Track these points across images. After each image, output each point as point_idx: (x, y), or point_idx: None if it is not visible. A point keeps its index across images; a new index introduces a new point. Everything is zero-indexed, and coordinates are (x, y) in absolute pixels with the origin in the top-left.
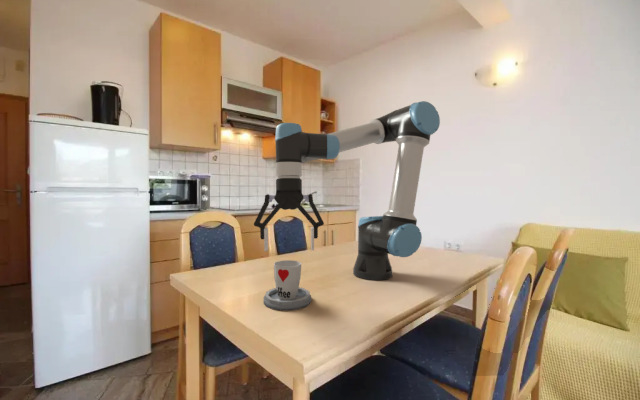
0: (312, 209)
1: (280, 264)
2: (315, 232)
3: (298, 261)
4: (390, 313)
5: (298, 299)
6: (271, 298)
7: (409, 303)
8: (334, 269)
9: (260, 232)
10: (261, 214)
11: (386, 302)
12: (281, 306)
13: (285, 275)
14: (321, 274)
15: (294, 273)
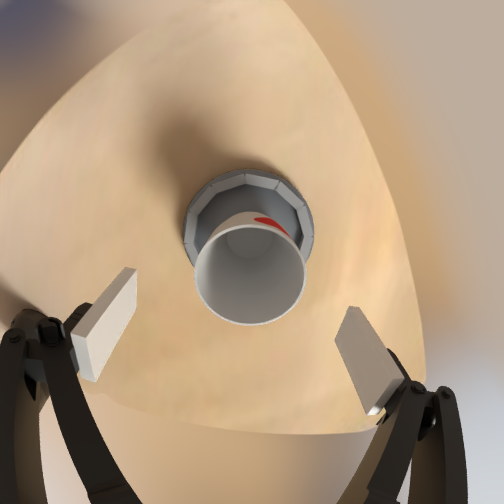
0: (13, 443)
1: (270, 311)
2: (77, 323)
3: (202, 300)
4: (48, 125)
5: (225, 187)
6: (299, 212)
7: (10, 174)
8: (116, 396)
9: (405, 371)
10: (451, 441)
11: (37, 183)
12: (275, 175)
13: (265, 220)
14: (143, 381)
15: (231, 222)
